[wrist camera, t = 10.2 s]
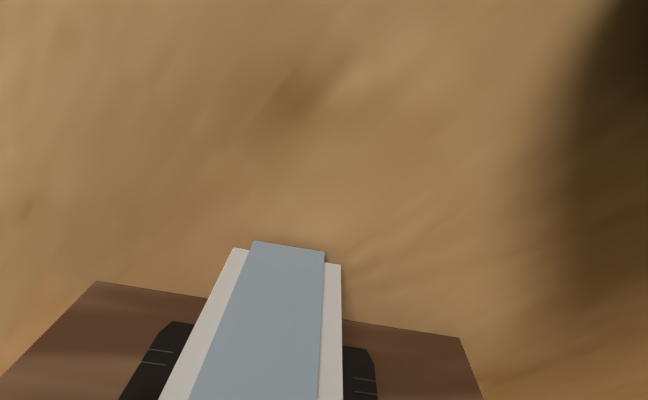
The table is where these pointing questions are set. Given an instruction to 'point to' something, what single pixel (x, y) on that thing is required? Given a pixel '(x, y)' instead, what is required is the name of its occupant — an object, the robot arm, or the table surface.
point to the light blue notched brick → (268, 329)
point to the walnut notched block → (162, 308)
